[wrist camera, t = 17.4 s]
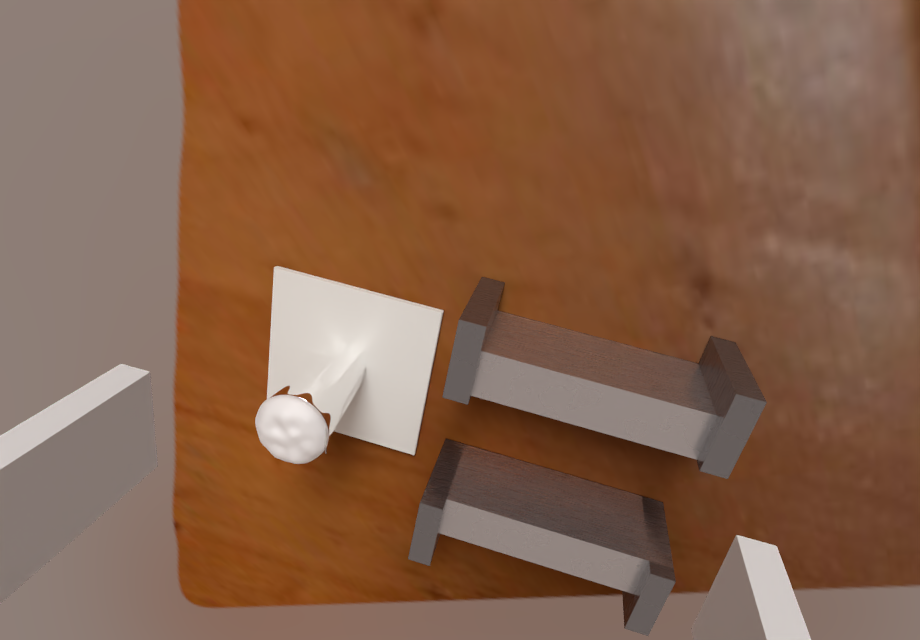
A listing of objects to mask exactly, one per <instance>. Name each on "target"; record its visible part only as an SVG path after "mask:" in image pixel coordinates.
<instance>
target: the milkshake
mask: <svg viewBox="0 0 920 640" xmlns="http://www.w3.org/2000/svg"><path fill="white" fill-rule="evenodd" d="M364 374H365V365H364V363H363V361H362V359H361V357H360V356H359V354H357V353H355V352H354V351H352V350H350V349H349V348H347V347H333V348H332V349H331V350H330V351H328V352H327V353H326V354H325V355H324V356H322V357H321V358H320V359H319V360H318V361H316V362H315V363H314V364H313V365H312V366H311V367H309V368H308V369H307V370H306V371H305V372H303V373H302V374H301V375H300V376H298V377H297V378H296V379H294V380H293V381H291V382H290V383H288V384H287V385H286V386H284V387H283V388H282V389H281V390H279V391H278V392H277V393H275V394H274V395H273V396H271V397H270V398H269V399H267V400H266V401H264V402H263V403H262V405H261V406H260V408H259V410H258V412H257V415H256V419H255V424H256V429H257V433H258V436H259V439H260V441H261V443H262V444H263V445H264V446H265V447H266V448H267V449H268V450H269V451H270V453H271V454H272V455H273V456H274V457H276V458H278V459H280V460H283V461H287V462H291V463H294V464H304V463H308V462H310V461H312V460H314V459H316V458H317V457H318V456H320V455H321V454H322V453H323V452H324V450H325V453H326V454H327V444H328V442H329V441H330V439H331V437H332V435H333V433H334V431H335V429H336V427H337V425H338V423H339V421H340V420H341V418H342V416H343V414H344V413H345V411H346V409H347V408H348V406H349V404H350V402H351V401H352V399H353V397H354V395H355V394H356V392H357V390H358V388H359V387H360V385H361V383H362V381H363V379H364Z"/></svg>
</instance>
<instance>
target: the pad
mask: <svg viewBox="0 0 920 640" xmlns="http://www.w3.org/2000/svg"><path fill="white" fill-rule="evenodd" d="M443 312H444V310H440V309H436V308H433V307H429V306H425V305H421V304H418V303H414V302H410V301H406V300H403V299H399V298H395V297H392V296H388V295H384V294H380V293H377V292H373V291H369V290H365V289H362V288H358V287H354V286H351V285H347V284H343V283H339V282H336V281H332V280H328V279H324V278H321V277H317V276H313V275H310V274H306V273H302V272H298V271H295V270H291V269H287V268H283V267H280V266H276V267H274V278H273V297H272V315H271V334H270V352H269V370H268V389H267V399H269V398H270V397H271V396H273V395H274V394H275V393H277V392H278V391H279V390H281V389H282V388H283V387H284V386H286V385H287V384H288V383H290V382H291V381H293V380H294V379H296V378H297V377H298V376H300V375H301V374H302V373H303V372H305V371H306V370H307V369H308V368H309V367H311V366H312V365H313V364H314V363H315V362H316V361H318V360H319V359H320V358H321V357H322V356H324V355H325V354H326V353H327V352H328V351H330V350H331V349H332V348H333V347H347V348H349V349H350V350H352V351H354V352H355V353H357V354H359V356H360V357H361V359H362V361H363V363H364V365H365V374H364V379H363V381H362V383H361V385H360V387H359V388H358V390H357V392H356V394H355V395H354V397H353V399H352V401H351V402H350V404H349V406H348V408H347V409H346V411H345V413H344V414H343V416H342V418H341V420H340V421H339V423H338V425H337V427H336V429H335V432H338V433H341V434H345V435H348V436H351V437H355V438H358V439H361V440H365V441H368V442H371V443H375V444H378V445H381V446H385V447H388V448H391V449H395V450H398V451H401V452H405V453H408V454H412V455H415V453H416V448H417V443H418V438H419V433H420V428H421V423H422V418H423V413H424V408H425V403H426V398H427V393H428V388H429V383H430V378H431V373H432V367H433V362H434V357H435V352H436V347H437V342H438V337H439V332H440V327H441V322H442V317H443Z"/></svg>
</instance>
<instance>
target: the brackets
mask: <svg viewBox="0 0 920 640" xmlns="http://www.w3.org/2000/svg"><path fill="white" fill-rule="evenodd" d="M504 284H505V283H504V282H500V281H496V280H493V279H489V278H485V277H482V278H481V280H480V281H479V283H478V285H477V287H476V289H475V291H474V293H473V295H472V296H471V298H470V300H469V302H468V304H467V306H466V308H465V309H464V311H463V313H462V315H461V317H460V319H459V322H458V327H457V332H456V336H455V341H454V346H453V350H452V355H451V360H450V364H449V369H448V374H447V379H446V383H445V388H444V393H443V398H446V399H450V400H453V401H457V402H460V403H464V404H467V405H468V403H469V400H470V398H471V396H474V397H478V398H481V399H485V400H488V401H492V402H495V403H499V404H502V405H506V406H509V407H513V408H517V409H520V410H524V411H527V412H531V413H534V414H538V415H541V416H545V417H548V418H552V419H555V420H559V421H562V422H566V423H569V424H573V425H576V426H580V427H583V428H587V429H591V430H594V431H598V432H601V433H605V434H608V435H612V436H615V437H619V438H622V439H626V440H629V441H633V442H636V443H640V444H643V445H647V446H650V447H654V448H657V449H661V450H665V451H668V452H672V453H675V454H679V455H682V456H686V457H689V458H693V459H696V460H697V463H698V467H699V470H700V471H702V472H705V473H709V474H712V475H716V476H719V477H723V478H726V479H728V477H729V475H730V473H731V472H732V470H733V468H734V466H735V464H736V462H737V460H738V458H739V456H740V454H741V452H742V450H743V448H744V446H745V444H746V442H747V440H748V438H749V436H750V434H751V432H752V430H753V428H754V426H755V424H756V422H757V420H758V418H759V416H760V414H761V412H762V410H763V409H764V407H765V405H766V403H767V402H766V400H765V398H764V396H763V394H762V392H761V391H760V389H759V387H758V385H757V383H756V381H755V379H754V377H753V375H752V373H751V371H750V369H749V367H748V366H747V364H746V362H745V360H744V358H743V356H742V354H741V352H740V350H739V348H738V346H737V344H736V343H735V342H731V341H728V340H724V339H720V338H716V337H712V336H711V337H710V339H709V341H708V344H707V346H706V348H705V351H704V353H703V355H702V358H701V360H700V362H699V364H697V363H693V362H689V361H686V360H682V359H678V358H674V357H671V356H667V355H663V354H659V353H656V352H652V351H648V350H644V349H641V348H637V347H633V346H629V345H625V344H622V343H618V342H614V341H610V340H607V339H603V338H599V337H595V336H592V335H588V334H584V333H580V332H576V331H573V330H569V329H565V328H561V327H558V326H554V325H550V324H546V323H543V322H539V321H535V320H531V319H528V318H524V317H520V316H516V315H512V314H509V313H505V312H501V311H498V308H499V304H500V300H501V296H502V292H503V288H504ZM440 534H443V535H446V536H449V537H453V538H456V539H459V540H462V541H465V542H469V543H472V544H475V545H478V546H481V547H485V548H488V549H491V550H494V551H497V552H500V553H504V554H507V555H510V556H513V557H516V558H520V559H523V560H526V561H529V562H532V563H536V564H539V565H542V566H545V567H548V568H552V569H555V570H558V571H561V572H564V573H568V574H571V575H574V576H577V577H580V578H583V579H587V580H590V581H593V582H596V583H599V584H603V585H606V586H609V587H612V588H615V589H619V590H622V592H623V610H624V626H625V627H624V628H625V629H628V630H631V631H635V632H637V633H641V634H644V635H647V636H648V635H649V633H650V631H651V629H652V627H653V625H654V623H655V621H656V619H657V617H658V615H659V613H660V611H661V609H662V607H663V605H664V603H665V601H666V599H667V597H668V596H669V594H670V592H671V590H672V588H673V586H674V584H675V582H676V581H675V575H674V568H673V562H672V556H671V550H670V544H669V537H668V531H667V525H666V519H665V512H664V506H663V502H660V501H657V500H653V499H650V498H647V497H643V496H640V495H636V494H633V493H630V492H626V491H623V490H619V489H616V488H613V487H609V486H606V485H602V484H599V483H595V482H592V481H589V480H585V479H582V478H578V477H575V476H572V475H568V474H565V473H561V472H558V471H555V470H551V469H548V468H544V467H541V466H538V465H534V464H531V463H527V462H524V461H521V460H517V459H514V458H510V457H507V456H504V455H500V454H497V453H493V452H490V451H487V450H483V449H480V448H476V447H473V446H470V445H466V444H463V443H459V442H456V441H453V440H449V439H445V442H444V444H443V447H442V449H441V452H440V454H439V457H438V459H437V462H436V464H435V467H434V469H433V472H432V474H431V477H430V479H429V482H428V484H427V487H426V489H425V492H424V494H423V497H422V499H421V502H420V505H419V510H418V515H417V520H416V524H415V529H414V534H413V538H412V543H411V548H410V552H409V557H408V559H410V560H413V561H416V562H419V563H422V564H425V565H428V566H430V563H431V560H432V557H433V554H434V551H435V548H436V545H437V542H438V539H439V536H440Z"/></svg>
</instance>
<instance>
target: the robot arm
mask: <svg viewBox="0 0 920 640" xmlns="http://www.w3.org/2000/svg"><path fill="white" fill-rule="evenodd" d="M157 466H158V462H157V450H156V437H155V425H154V413H153V401H152V388H151V376H150V372H149V371H145V370H141V369H138V368H134V367H131V366H127V365H124V364H120V365H118V366H116V367H115V368H113V369H111V370H110V371H108V372H106V373H105V374H103V375H101V376H100V377H98V378H96V379H95V380H93V381H91V382H90V383H88V384H86V385H85V386H83V387H81V388H80V389H78V390H76V391H74V392H73V393H72V394H70V395H68V396H66V397H64V398H63V399H61V400H59V401H58V402H56V403H54V404H53V405H51V406H49V407H48V408H46V409H44V410H43V411H41V412H39V413H38V414H36V415H34V416H33V417H31V418H29V419H28V420H26V421H24V422H22V423H21V424H19V425H17V426H16V427H14V428H13V429H11V430H9V431H7V432H6V433H4V434H2V435H1V436H0V604H1V603H2V602H3V601H4V600H5V599H7V597H9V596H10V595H11V594H12V593H13V592H15V590H17V589H18V588H19V587H20V586H21V585H23V584H24V583H25V582H26V581H27V580H28V579H29V578H30V577H32V576H33V575H34V574H35V573H36V572H37V571H39V570H40V569H41V568H42V567H43V566H44V565H45V564H46V563H48V562H49V561H50V560H51V559H52V558H53V557H55V556H56V555H57V554H58V553H59V552H60V551H61V550H62V549H64V548H65V547H66V546H67V545H68V544H69V543H71V542H72V541H73V540H74V539H75V538H76V537H77V536H78V535H80V534H81V533H82V532H83V531H84V530H85V529H87V528H88V527H89V526H90V525H91V524H92V523H93V522H94V521H96V520H97V519H98V518H99V517H100V516H101V515H103V514H104V513H105V512H106V511H107V510H108V509H109V508H110V507H112V506H113V505H114V504H115V503H116V502H117V501H119V500H120V499H121V498H122V497H123V496H124V495H125V494H127V493H128V492H129V491H130V490H131V489H132V488H133V487H134V486H136V485H137V484H138V483H139V482H140V481H141V480H142V479H144V478H145V477H146V476H147V475H148V474H149V473H151V472H152V471H153V470H154V469H155V468H156V467H157ZM692 635H693V640H811V638H810V635H809V633H808V630H807V627H806V625H805V622H804V619H803V616H802V614H801V611H800V608H799V605H798V603H797V600H796V597H795V595H794V592H793V589H792V586H791V584H790V581H789V578H788V576H787V573H786V570H785V567H784V565H783V562H782V559H781V556H780V554H779V551H778V548H777V546H775V545H771V544H768V543H764V542H760V541H757V540H753V539H750V538H746V537H742V536H739V535H736V537H735V539H734V541H733V543H732V545H731V547H730V549H729V551H728V553H727V556H726V558H725V560H724V562H723V564H722V566H721V568H720V570H719V572H718V574H717V576H716V578H715V580H714V582H713V585H712V587H711V589H710V591H709V593H708V595H707V597H706V599H705V601H704V603H703V605H702V608H701V609H700V611H699V614H698V616H697V618H696V620H695V622H694V624H693V626H692Z"/></svg>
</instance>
